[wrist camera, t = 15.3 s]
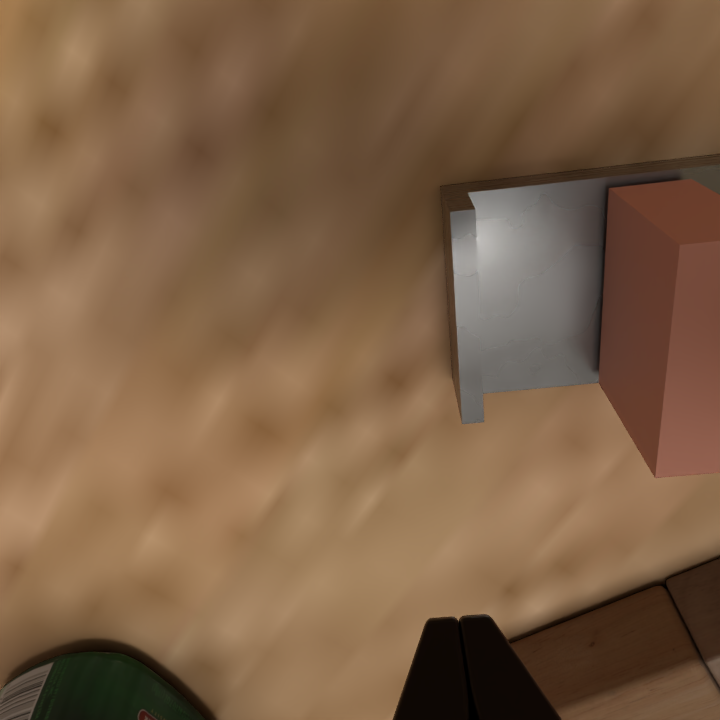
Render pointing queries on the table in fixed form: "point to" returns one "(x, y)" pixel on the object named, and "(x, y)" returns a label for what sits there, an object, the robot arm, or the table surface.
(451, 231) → the vise
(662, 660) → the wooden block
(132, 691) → the coffee jar
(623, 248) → the block
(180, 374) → the table surface
